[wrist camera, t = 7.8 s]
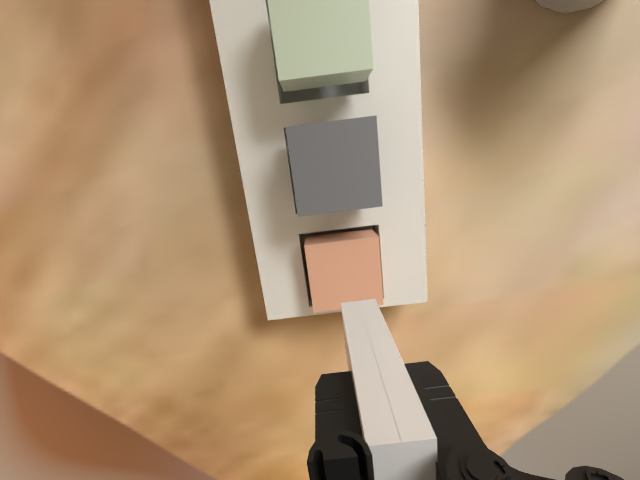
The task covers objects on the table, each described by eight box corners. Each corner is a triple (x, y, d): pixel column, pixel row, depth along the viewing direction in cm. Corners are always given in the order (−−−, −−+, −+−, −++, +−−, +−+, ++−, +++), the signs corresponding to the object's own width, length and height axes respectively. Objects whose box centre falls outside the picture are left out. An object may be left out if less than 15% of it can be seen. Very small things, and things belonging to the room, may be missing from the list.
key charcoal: (291, 134, 19) (285, 126, 15) (363, 125, 19) (376, 115, 15) (301, 206, 21) (298, 216, 17) (369, 198, 20) (382, 206, 17)
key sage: (274, 11, 18) (262, -33, 14) (354, 1, 18) (365, -47, 14) (286, 98, 19) (278, 81, 15) (361, 88, 19) (373, 68, 15)
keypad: (203, -107, 18) (178, -168, 15) (394, -133, 18) (411, -200, 15) (274, 299, 25) (267, 320, 22) (412, 283, 25) (427, 301, 22)
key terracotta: (306, 231, 23) (304, 245, 19) (367, 224, 23) (378, 236, 19) (313, 288, 24) (313, 312, 20) (372, 281, 24) (383, 304, 20)
